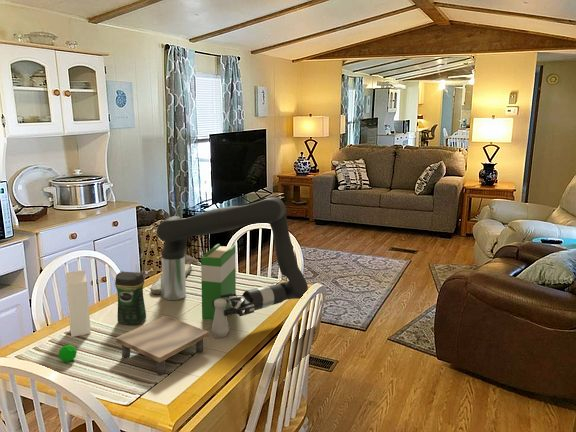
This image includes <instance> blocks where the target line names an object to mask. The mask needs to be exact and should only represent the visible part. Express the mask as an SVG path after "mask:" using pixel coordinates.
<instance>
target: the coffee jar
mask: <svg viewBox="0 0 576 432" xmlns="http://www.w3.org/2000/svg"><path fill="white" fill-rule="evenodd" d="M114 281H115V282H114V286H115V288H116V292H117V293H116V294H117V314H116V315H117V316H116V317H117V322H118V323H119V324H121V325H122V324H123V325H132V326H136V325H140V324H142V323H143V322H144V321H145V320H146V319H147V310H146V305H145V299H144V285H145V278H144V274H143V272H135V271H134V272H133V271H123V270H122V271H120V272H118V273H117V274H116V275H115V280H114Z"/></svg>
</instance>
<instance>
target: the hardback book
mask: <svg viewBox="0 0 576 432" xmlns="http://www.w3.org/2000/svg"><path fill="white" fill-rule="evenodd" d="M236 252H237V251H236V244H233V245H232V246H224V245H223V246H222V245H221V244H220V243H217V244H215V245H214V246H213V247H212V248H210V249H209V250H208V251H207V252H205V253H204V254H203V255H202V256H201V257H200V260H201V261H200V263H201V264H200V265H201V266H200V268H201V269H200V270H201V272H200V274H201V279H200V280H201V319H202V320H206V321H207V320H208V321H213V319H214V314H215V308H216V307H212V301H214V300H216V299H220V298H221V295H226V294H231V293H236V294H237V289H236V284H237V283H236V281H237V280H236V272H237V271H236V267H237V266H236V265H237V263H236V262H237V261H236V260H237V259H236V258H237V257H236V256H237V254H236ZM227 303H228V302H227ZM230 303H231V304H232V301H230ZM229 308H233V307H229V306H228V305H226V307H225V309H229Z"/></svg>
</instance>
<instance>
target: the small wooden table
mask: <svg viewBox="0 0 576 432" xmlns="http://www.w3.org/2000/svg"><path fill="white" fill-rule="evenodd" d="M207 337H209V331H207V330H205V329H202V328H200V327H196V326H194V325H192V324H189V323H186V322H184V321H181V320H178V319H176V318H173V317H171V316H168V315H163V316H162V317H158V318H157V319H154V320H153V321H150V322H148V323H146V324H143V325H141V326H139V327H136V328H134V329H132V330H130V331H128V332H125V333H123V334H121V335H118V336H116V337H115V343H117V344H119V345H121V357H122V358H123V357H124V358H123V359H128V358H130V357H131V351H134V352H137V353H138V354H140V355H143V356H145V357H147V358H149V359H151V360H153V361H156V375H158V374H159V375H158V376H163V375H165V374H166V360H167V359H169V358H170V357H173V356H175V355H177V354H178V353H180V352H182V351H183V350H186V349H188V348H189V347H191V346H193V345H195V352H196V353H197V354H201V353H204V351H205V350H204V349H205V348H204V347H205V346H204V345H205V344H204V340H205V339H206V338H207ZM127 357H128V358H127ZM164 373H165V374H164Z"/></svg>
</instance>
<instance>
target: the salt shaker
mask: <svg viewBox="0 0 576 432" xmlns="http://www.w3.org/2000/svg"><path fill="white" fill-rule="evenodd" d="M226 305H227V302H226V300H225V299H222V298H220V299H216V300H215V301H214V307H216V308H215V314H214V319H213V320H212V326H211V332H212V333H213V335H214V337H215V338H218V339H219V338H220V339H223V338H225V337H227V334H228V332H229V331H230V327H229V322H228V316H224V310H225V307H226Z"/></svg>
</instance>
